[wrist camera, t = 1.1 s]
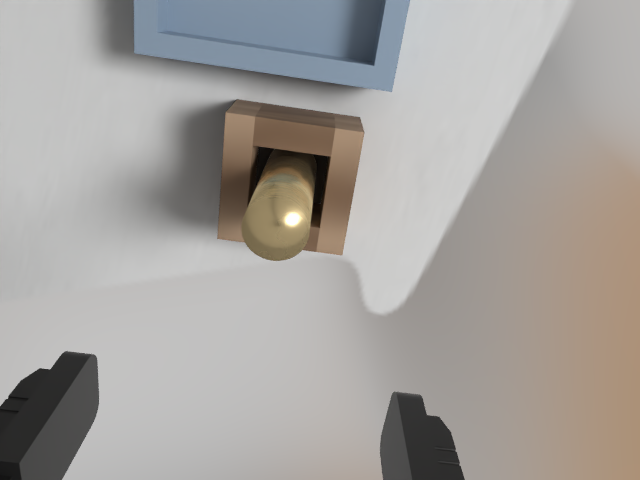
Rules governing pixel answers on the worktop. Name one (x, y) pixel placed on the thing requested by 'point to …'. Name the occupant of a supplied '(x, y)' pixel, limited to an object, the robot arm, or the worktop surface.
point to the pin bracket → (300, 136)
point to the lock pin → (281, 206)
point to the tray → (279, 36)
